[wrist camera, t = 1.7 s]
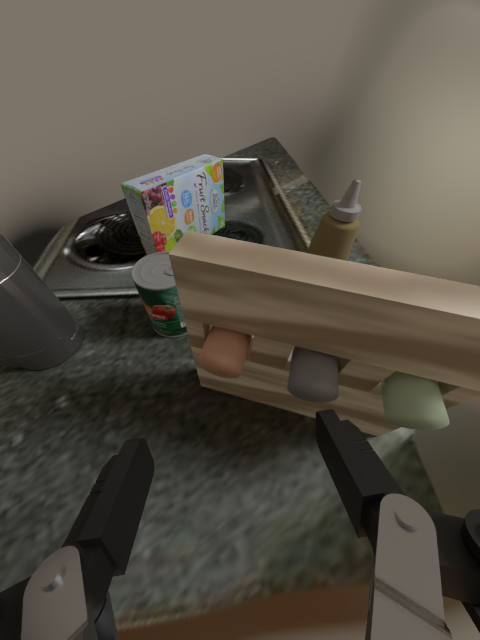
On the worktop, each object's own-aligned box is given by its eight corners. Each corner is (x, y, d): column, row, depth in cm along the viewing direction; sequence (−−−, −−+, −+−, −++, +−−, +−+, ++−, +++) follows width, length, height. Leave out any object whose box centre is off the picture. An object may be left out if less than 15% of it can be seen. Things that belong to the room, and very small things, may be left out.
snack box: (209, 219, 60) (204, 152, 48) (225, 227, 58) (225, 158, 47) (144, 256, 49) (118, 181, 38) (162, 267, 47) (140, 191, 36)
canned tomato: (144, 334, 37) (119, 284, 28) (162, 299, 42) (145, 248, 33) (192, 341, 36) (180, 292, 28) (203, 305, 41) (197, 254, 33)
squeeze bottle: (292, 269, 49) (319, 176, 35) (318, 257, 52) (352, 167, 38) (320, 292, 45) (362, 197, 31) (346, 277, 48) (396, 185, 34)
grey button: (327, 406, 20) (346, 389, 17) (283, 394, 20) (293, 375, 17) (328, 366, 22) (345, 345, 19) (288, 356, 23) (298, 334, 20)
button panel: (377, 436, 29) (605, 344, 11) (200, 386, 32) (168, 254, 15) (370, 367, 35) (511, 239, 17) (222, 330, 38) (218, 191, 21)
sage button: (425, 433, 19) (464, 420, 16) (375, 419, 19) (403, 404, 16) (415, 388, 21) (447, 369, 18) (370, 377, 22) (395, 357, 19)
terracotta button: (240, 382, 21) (242, 362, 18) (199, 371, 21) (195, 349, 18) (250, 346, 23) (254, 323, 20) (213, 337, 24) (211, 313, 21)
